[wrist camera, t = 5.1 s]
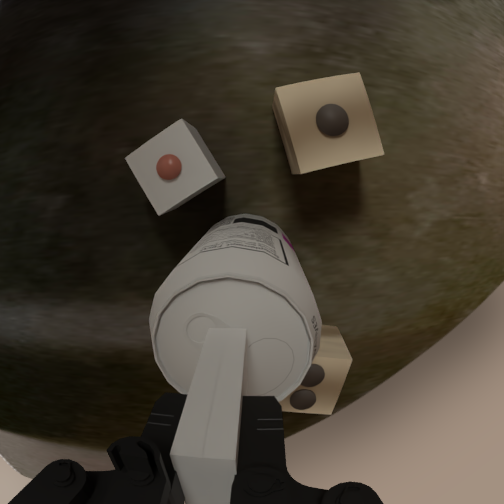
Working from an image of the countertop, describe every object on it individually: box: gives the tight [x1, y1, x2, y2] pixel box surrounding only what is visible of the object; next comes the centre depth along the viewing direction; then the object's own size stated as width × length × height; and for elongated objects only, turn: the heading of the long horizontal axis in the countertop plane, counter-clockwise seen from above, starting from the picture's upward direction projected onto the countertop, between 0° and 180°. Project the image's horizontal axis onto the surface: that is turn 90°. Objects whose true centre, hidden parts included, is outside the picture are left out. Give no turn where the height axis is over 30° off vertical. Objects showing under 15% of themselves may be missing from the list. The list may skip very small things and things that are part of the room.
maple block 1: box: [272, 72, 384, 174], centre depth 22 cm, size 6×6×6 cm
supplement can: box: [149, 214, 322, 402], centre depth 20 cm, size 8×8×15 cm
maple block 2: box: [279, 325, 352, 414], centre depth 27 cm, size 6×6×6 cm
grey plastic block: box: [125, 118, 226, 216], centre depth 23 cm, size 5×5×5 cm
